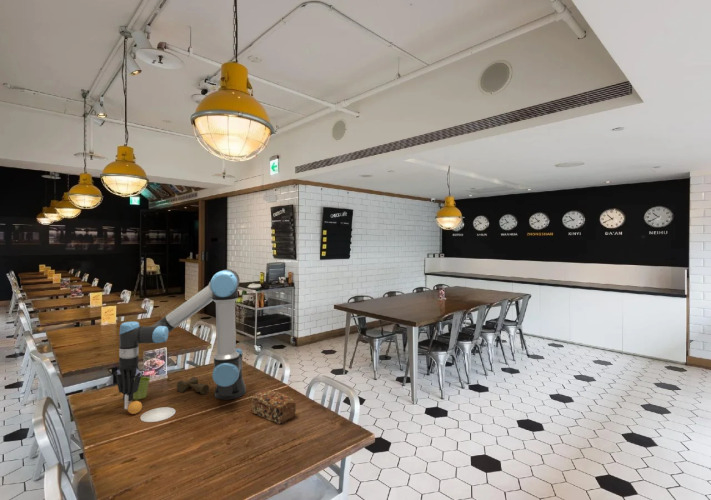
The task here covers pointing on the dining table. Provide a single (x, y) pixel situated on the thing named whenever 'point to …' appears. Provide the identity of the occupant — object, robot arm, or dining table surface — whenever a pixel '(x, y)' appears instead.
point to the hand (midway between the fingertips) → (128, 407)
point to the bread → (273, 405)
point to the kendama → (194, 384)
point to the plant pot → (142, 388)
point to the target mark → (157, 414)
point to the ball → (134, 407)
